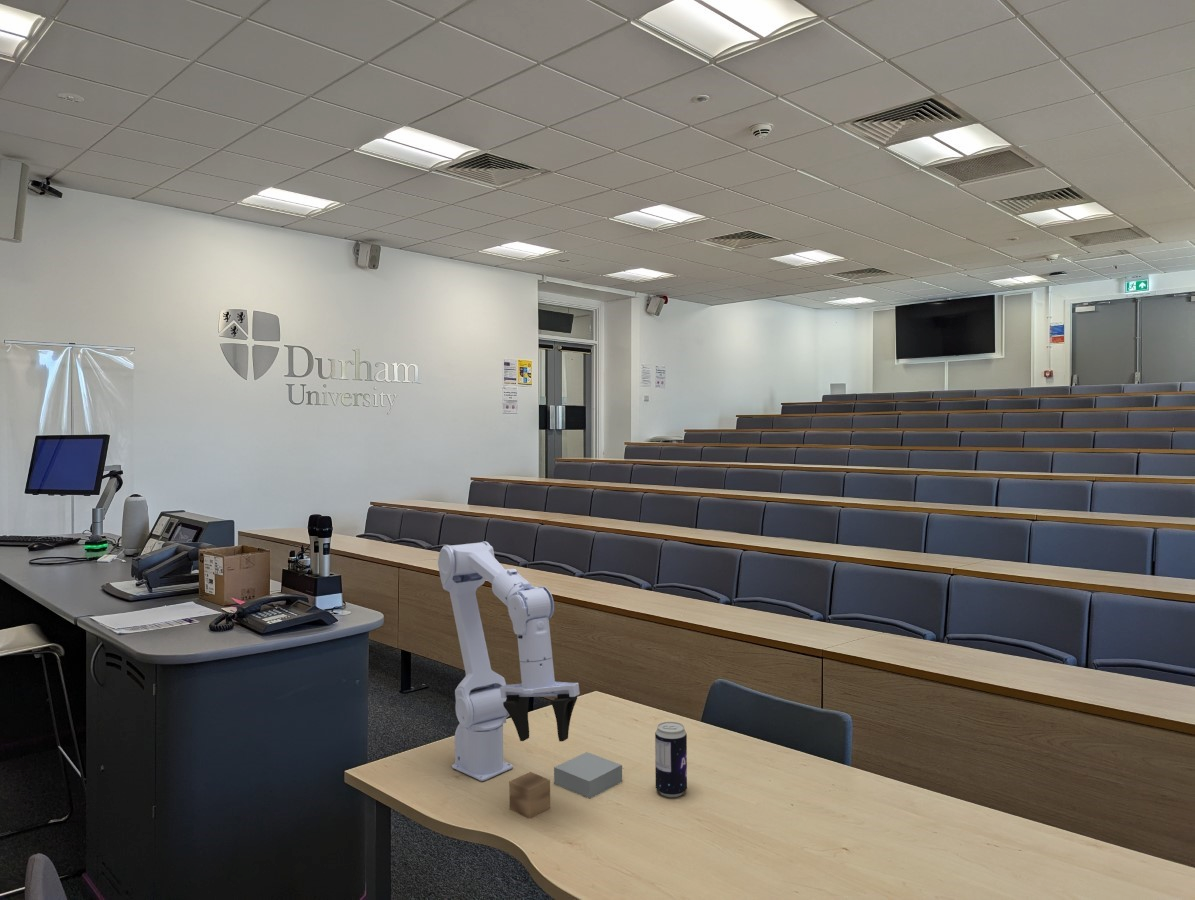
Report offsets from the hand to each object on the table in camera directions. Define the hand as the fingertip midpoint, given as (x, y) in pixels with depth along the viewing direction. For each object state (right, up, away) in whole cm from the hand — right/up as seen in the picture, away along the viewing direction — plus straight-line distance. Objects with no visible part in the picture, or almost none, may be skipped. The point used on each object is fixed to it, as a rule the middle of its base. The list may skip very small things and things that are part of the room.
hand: (543, 739), depth 134 cm
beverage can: (+23, -13, +8) cm, 27 cm away
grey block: (+7, -13, +12) cm, 19 cm away
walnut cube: (-3, -13, +2) cm, 13 cm away
